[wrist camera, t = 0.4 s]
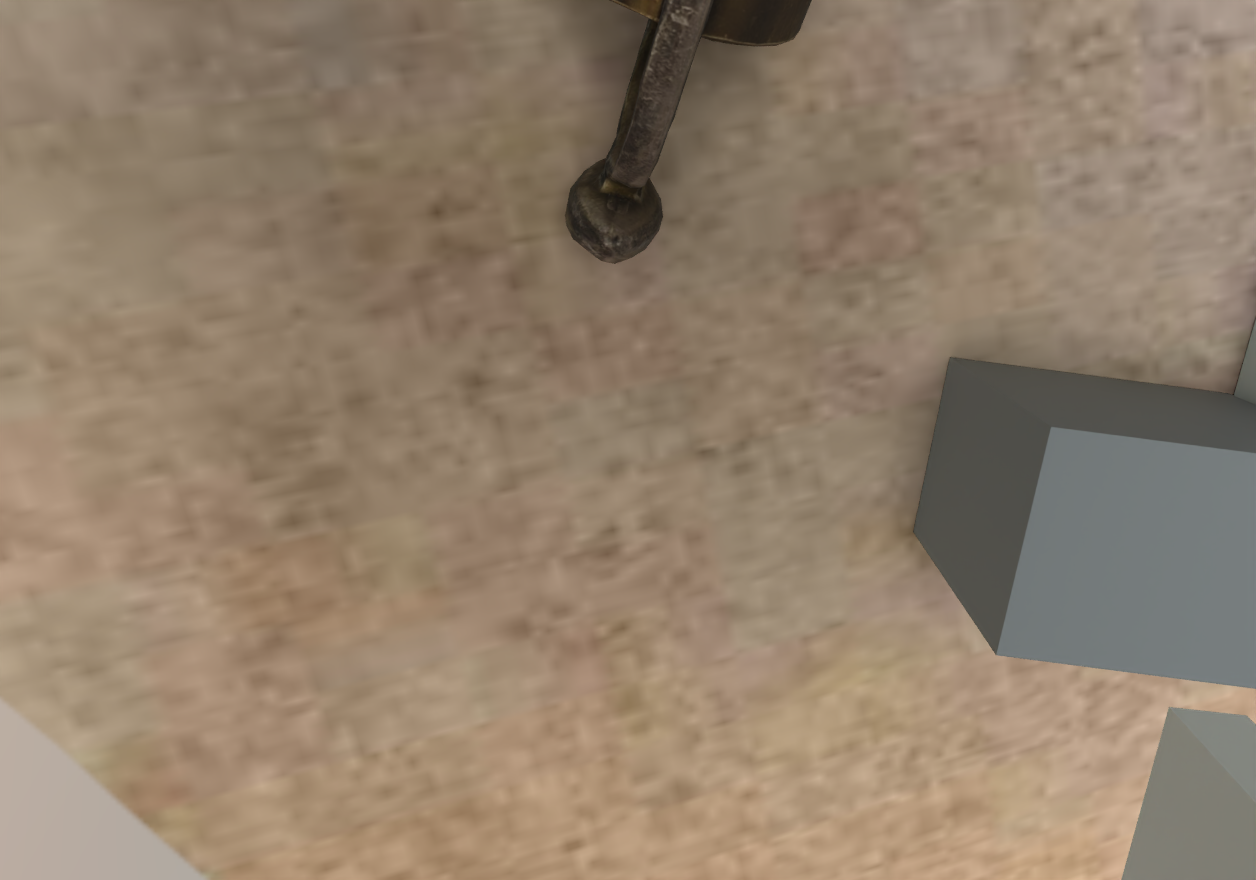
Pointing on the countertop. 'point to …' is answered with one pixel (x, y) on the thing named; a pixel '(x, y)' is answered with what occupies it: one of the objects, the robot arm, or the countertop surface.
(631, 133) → the dark metal piece
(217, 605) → the countertop surface
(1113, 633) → the rail bench
